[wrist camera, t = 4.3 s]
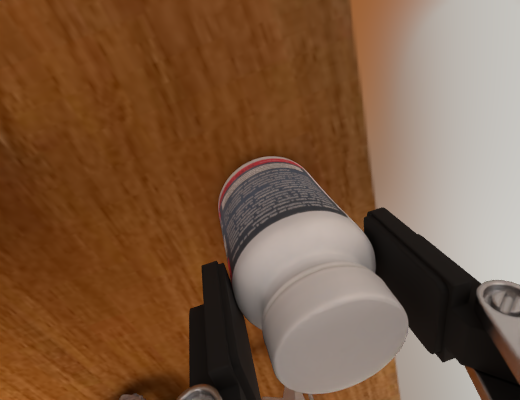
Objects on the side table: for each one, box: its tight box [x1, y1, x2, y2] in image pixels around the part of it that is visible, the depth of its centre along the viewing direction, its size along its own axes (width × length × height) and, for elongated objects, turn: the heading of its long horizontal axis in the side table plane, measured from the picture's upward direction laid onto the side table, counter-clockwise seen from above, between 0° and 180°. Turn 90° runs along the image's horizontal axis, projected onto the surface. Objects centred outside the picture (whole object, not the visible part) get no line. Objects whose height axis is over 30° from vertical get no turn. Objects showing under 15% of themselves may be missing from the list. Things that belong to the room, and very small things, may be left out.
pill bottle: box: [218, 156, 409, 394], centre depth 12 cm, size 5×5×9 cm
